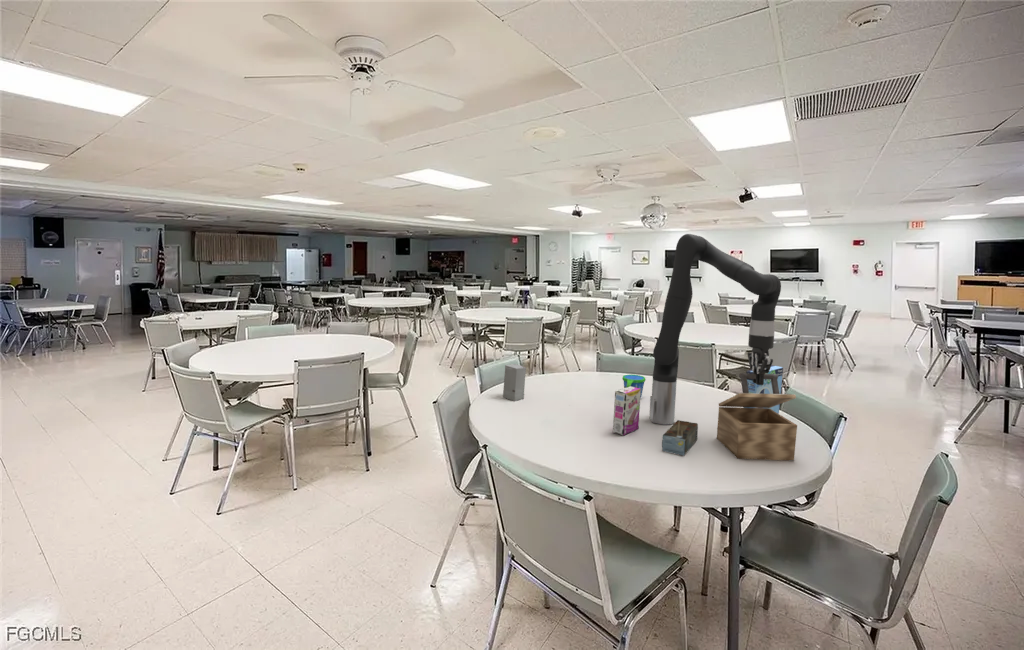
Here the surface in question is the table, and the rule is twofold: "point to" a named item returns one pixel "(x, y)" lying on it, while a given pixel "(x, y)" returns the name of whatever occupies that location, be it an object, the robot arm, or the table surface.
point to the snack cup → (634, 381)
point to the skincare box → (514, 382)
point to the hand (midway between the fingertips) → (757, 383)
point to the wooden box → (756, 433)
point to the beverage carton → (680, 437)
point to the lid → (757, 394)
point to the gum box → (766, 385)
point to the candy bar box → (626, 410)
